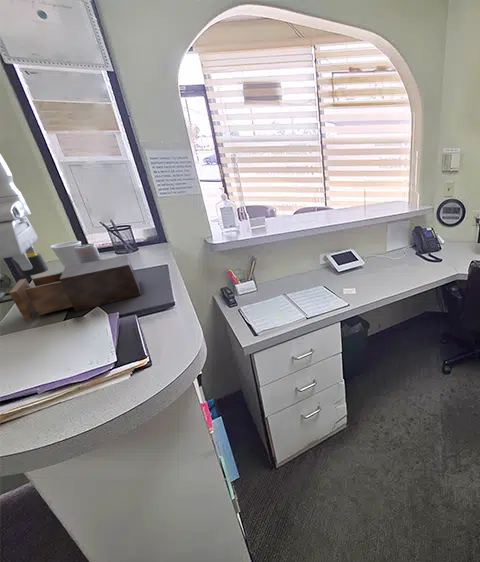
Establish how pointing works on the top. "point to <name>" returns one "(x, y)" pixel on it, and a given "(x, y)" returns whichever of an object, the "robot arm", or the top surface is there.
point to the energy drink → (87, 253)
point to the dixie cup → (67, 252)
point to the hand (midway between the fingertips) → (31, 266)
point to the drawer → (39, 296)
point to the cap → (37, 264)
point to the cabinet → (100, 282)
